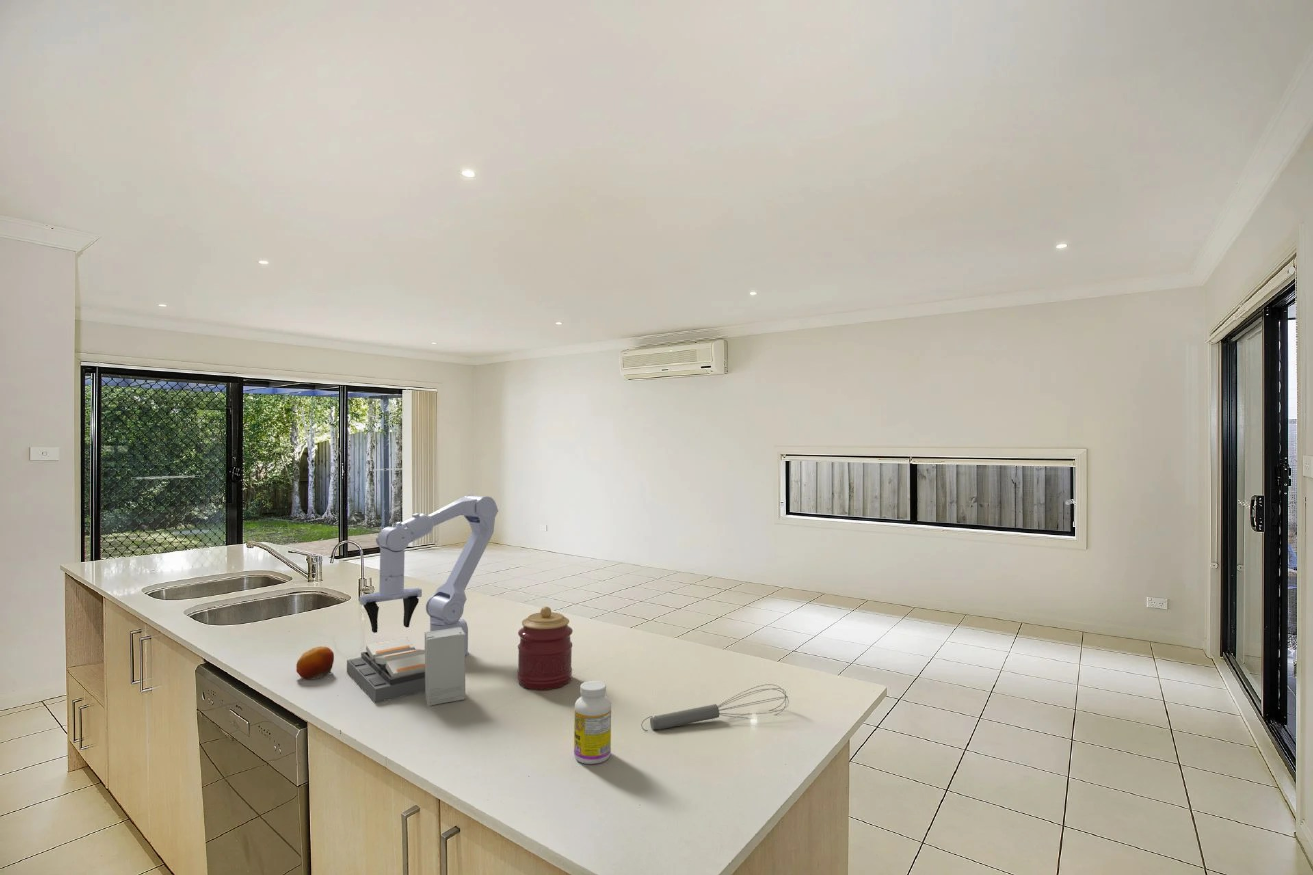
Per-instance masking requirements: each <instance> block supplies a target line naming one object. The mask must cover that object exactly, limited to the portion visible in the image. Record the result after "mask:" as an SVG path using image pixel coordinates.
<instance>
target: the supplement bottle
mask: <svg viewBox="0 0 1313 875" xmlns="http://www.w3.org/2000/svg"><path fill="white" fill-rule="evenodd" d="M579 689H580V690H579V693H580V695H581V696H579V698H577V699H576V701H575V703H574V728H573V729H574V730H573V756H574V758H575V759H576V761H578V762H579V763H581V764H585V765H595V764H597V765H598V764H601V763H604V762H606V761H607V760H608V759H609V758H610V756H611V752H612V751H611V750H612V702H611V700H610V698H609V697H608V696H606V694H607V684H606V682H603V681H601V680H589V681H584V682H583V683H581V684H580V688H579Z"/></svg>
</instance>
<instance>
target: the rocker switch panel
mask: <svg viewBox="0 0 1313 875" xmlns="http://www.w3.org/2000/svg"><path fill="white" fill-rule="evenodd" d="M415 649H416V647H414V650H415ZM346 673H347V674H348V675H349V676H350V678H352V680H353V681H354V682H355V683H356V684H357V685H358V686H359V687H360V689H362V691H363V692H365V693H366V695H367V696H368V697H369V698H370V699H371V700H372V701H373V702H374V703H375V704H377V703H381V702H385V701H389V700H394V699H397V698H403V697H406V696H410V695H415V694H420V693H425V672H421V673H417V674H412V675H407V676H403V677H398V678H394V679H392V677H391V675H390V674H389V672H388V671H387V669H386V664H383V665H382V664H377V663H375V659H373V660H372V659H371V658H370V656H369V654H368V653H367V651H363V652H361V654H360V657H356V658H350V659H347V660H346Z"/></svg>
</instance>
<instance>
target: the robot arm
mask: <svg viewBox="0 0 1313 875" xmlns="http://www.w3.org/2000/svg"><path fill="white" fill-rule="evenodd" d="M498 513H499V509H498V506H497V503H496V501H495V498H493V497H491V496H488V495H487V496H486V495H483V496H481V495H474V494H467V495H465V496H464V497H463V496H462V497H459V498H457V499H456V500H454V501H453V502H450V503H449V504H447V505H445V506H443V507H441V508H438V510H435V511H434V512H432V513H430V514H428V515H427V514H425V513H419V512H418V513H417V512H416V513H413V514H412V517H410V518H408V519H406V520H403V521H398V522H396V523H395V526H385V527H384V528H383V529H381V530H380V531H379V533H378V535H377V537H376V538H375V543H376V544H377V546H378V547H379V549H380V551H379V555H380V556H379V583H378V584H379V586H378V589H379V590H378V591H377V592H371V593H368V594H363V595H359V605H361V606H363V607H364V609H365V612H366V613H367V616H368V619H369V623H370V626H371V632H373V634H375V633H378V631H379V630H378V629H379V627H378V625H379V624H378V622H379V621H378V616H379V609H380V607H379V606H378V603H380V602H387V601H396V600H402V601H403V620H402V622H403V627H405V628H410V624H411V620H412V616H413V614H414V611H415V610H416V607H417V606H418V604H419V601H420V600H419V599H420V598H421V597H423V596H422V594H423V593H422V592H423V590H422V588H420V587H417V588H416V587H415V588H405V552H406V551H405V550H406V548H408V546H409V545H410V543H412V542H415V541H417V540H419V539H421V538H423V537H425V536H427V535H429V534H431V533H432V531H433V530H434V527H435V526H438V525H441V524H442V523H445V522H447V521H450V520H453V519H454V518H457V517H459V516H463V517H464V518H465V519H466V521H467V522H468V523H469V525H470V528H471V532H470V535H469V537H468V538H467V540H466V543H465V545H464V546H463V548H462V550H461V552H460V554H459V556H458V557H457V561H456V562H455V564H454V566H453V568H452V569H451V572H450V573H449V576H448V577H447V579H446V582H445V583H443V584H441V586H439V587H438V588H436V590H435V592H434V593H433V594H432V596H430V597H429V598H428V600H427V602H426V603H425V611H426V614H427V615H428V616H429V622H430V623H429V632H430V631H437V630H444V629H451V628H457V627H461V628H462V630H463V631H464V633H465V656H467V655H470V653H469V651H468V650H469V648H468V647H469V627H468V623H467V621H466V620H465V619H464V618H462V616H463V614H464V608H465V604H466V602H467V595H466V592H465V590H466V589H467V587H468V584H469V582H470V580H471V578H472V576H473V574H474V573H475V570H476V568H477V567H478V564H479V562H480V560H481V558H482V556H483V554H484V553H485V550H486V548H487V546H488V544H489V542H490V540H491V539H492V536H493V534H494V532H495V523H496V522H495V521H496V516H497V514H498Z"/></svg>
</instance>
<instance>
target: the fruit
mask: <svg viewBox="0 0 1313 875" xmlns="http://www.w3.org/2000/svg"><path fill="white" fill-rule="evenodd" d="M334 660H335V654H334V651H333V650H332V649H331V648H329V647H328V646H317V647H313V648H311V649H308V650H306V651H305V652H304V653H302V655H301V656H300V657H299V659H297V662H296V665H295V666H296V667H295V668H296V674H298V675H299V676H300V677H301V678H302V679H303V680H304V679H305V680H313V679H319V680H320V679H321V677H322V676H323V675H327V674H331V675H334V673H333V672H332V669H333V665H334V662H335V661H334Z"/></svg>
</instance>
